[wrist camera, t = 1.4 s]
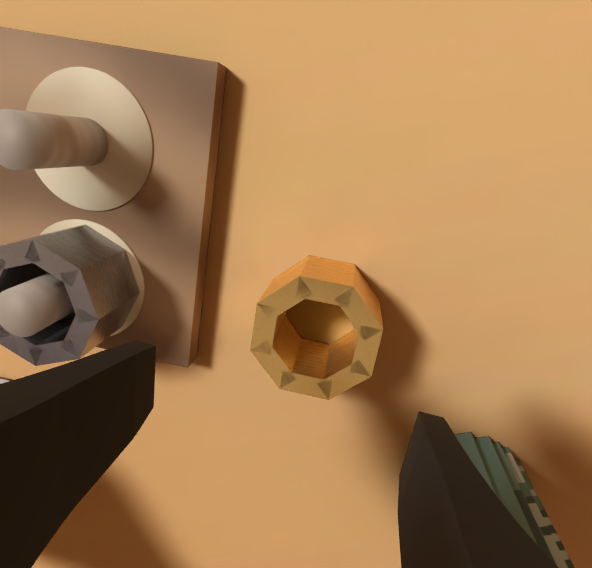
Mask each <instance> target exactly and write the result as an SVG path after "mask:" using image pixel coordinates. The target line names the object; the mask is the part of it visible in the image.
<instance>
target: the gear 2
mask: <svg viewBox="0 0 592 568" xmlns="http://www.w3.org/2000/svg"><path fill="white" fill-rule="evenodd" d="M304 299H309V300H313V301H318V302H323V303H328V304H333V305H338V306H340V307H341V309H342V310H343V311H344V313H345V314H346V316H347V317H348V319H349V320H350V321H351V323H352V324H353V326H354V329H353V331H352V332H350V333H348V334H347V335H345V336H343V337H342V338H340V339H338V340H336V341H335V342H333V343H331V344H330V345H329V344H324V343H320V342H315V341H310V340H306V339H302V338H301V337H300V336H299V334H298V333H297V331H296V330H295V329H294V327H293V326H292V325H291V323H290V322H289V321H288V319H287V318H286V311H287V310H288V309H290V308H291V307H293V306H294V305H296V304H298V303H299V302H301V301H302V300H304ZM382 333H383V324H382V316H381V308H380V301H379V299H378V298H377V296H376V295H375V294H374V292H373V291H372V289H371V288H370V286H369V285H368V283H367V282H366V280H365V279H364V277H363V276H362V275H361V273H360V272H359V270H358V269H357V267H356V266H355V264H350V263H345V262H340V261H335V260H330V259H325V258H320V257H315V256H310V255H309V256H308V257H306V258H305V259H303V260H302V261H300V262H299V263H297V264H296V265H294V266H293V267H291V268H290V269H288V270H287V271H285V272H284V273H282V274H281V275H279V276H278V277H276V278H275V279H273V280H272V282H271V283H270V285H269V286H268V288H267V289H266V291H265V292H264V294H263V295H262V297H261V298H260V300H259V301H258V303H257V308H256V314H255V321H254V328H253V335H252V342H251V348H250V351H251V352H252V353H253V354H254V356H255V357H256V358H257V360H258V361H259V362H260V364H261V365H262V366H263V368H264V369H265V370H266V372H267V373H268V374H269V375H270V377H271V378H272V379H273V381H274V382H275V383H276V385H277V386H278V387H279V389H283V390H287V391H292V392H296V393H300V394H305V395H309V396H314V397H318V398H323V399H327V400H329V399H331V398H333V397H335V396H337V395H338V394H340V393H342V392H344V391H346V390H348V389H350V388H351V387H353V386H355V385H357V384H359V383H361V382H363V381H364V380H366V379H368V378H370V377H372V373H373V369H374V365H375V361H376V357H377V353H378V349H379V345H380V341H381V337H382Z"/></svg>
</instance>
